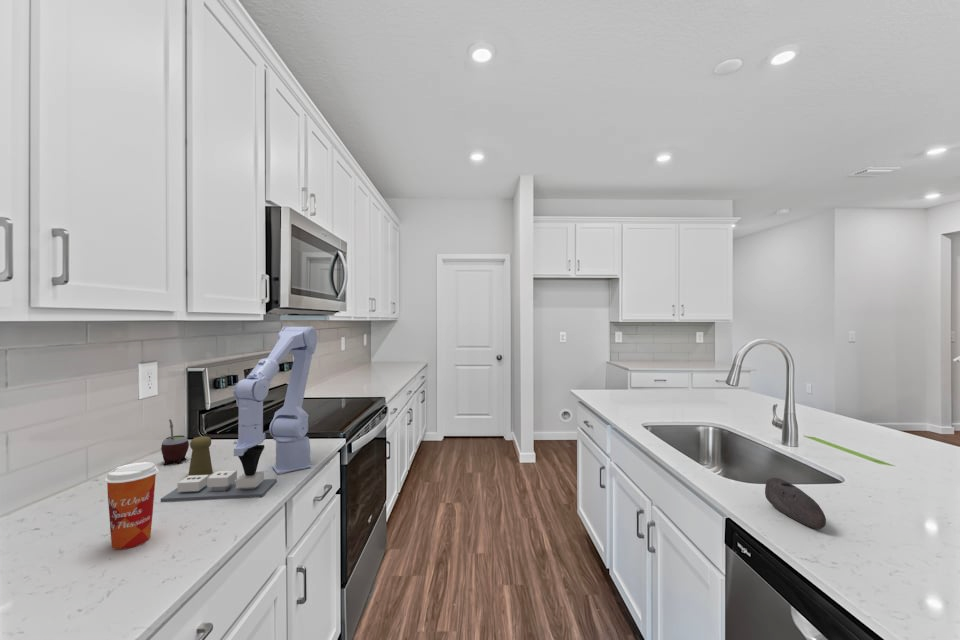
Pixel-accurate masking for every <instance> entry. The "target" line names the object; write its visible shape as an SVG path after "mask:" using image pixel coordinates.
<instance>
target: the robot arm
mask: <svg viewBox="0 0 960 640" xmlns="http://www.w3.org/2000/svg"><path fill="white" fill-rule="evenodd" d="M277 335H278V336H277V337H278V340H277V342H276V344H275V345H274V347H273V348H272V350H271V351H270V353H269V355H268V356H267V358H262V359H259V360H258V361H257V363H256V365H255V366H254V367H253V369H252V370H251V371H250V373H249V374H248V375H247V376H246V377H245V378H242V379H241V380H239V381H238V382H236V384H235V386H234V389H233V390H232V394H233V397H234V398H233V399H235V401H236V407H238V420H237V423H238V426H237V427H238V431H237V433H238V435H237V437H238V439H235V440H234V441H233V445H235V447H234V448H233V457H238V458H239V460H240V462H241V465H242V469H243V473H245V476H250V475H254V474H255V473H256V472H257V469H258V465H259V461H260V458H261V455H262V454H263V451H264V449H265V444H262V443H264V441H265V440H266V432H264V400H265V399H266V397H267V396H268V394H269V389H270V387H271V382H272V381H273V379H274V378H275V376H276V375H277V374H278V373H279V371H280V366H279V364H280V363H281V362H282V360H284V359H285V358H286V356H287V355H288V354H291V355H292V357H293V361H292V364H291V365H292V366H291V371H290V375H289V379H288V384H287V389H286V393H285V396H284V397H285V398H284V403H283V406H282V407H280V408H279V409H277V410H276V411H275V412H274V415H273V419H272V420H271V422H270V424H269V429H268V430H269V434H270V436H271V437H272V438H273V441H275V464H273V465H272V466H271V467H272V469H273V470H274V471H275V473H276V474H277V475H279V474H285V473H289V472H293V471H300V470H303V469H309V468H311V467H312V466H311V443H310V442H311V441H310V438H309V436H306V435H307V433H308V430H309V414H308V413H307V412H306V411H305V410H304V409H303V403H304V398H305V392H306V388H307V384H308V378H309V372H310V368H311V363H312V357H313V354H315V353H316V348H317V343H318V338H319V337H318V334H317V331H316V329H315V327H314V326H287V325H286V326H283V327H282V328H281V329H280V330H279V332H278V333H277Z"/></svg>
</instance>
